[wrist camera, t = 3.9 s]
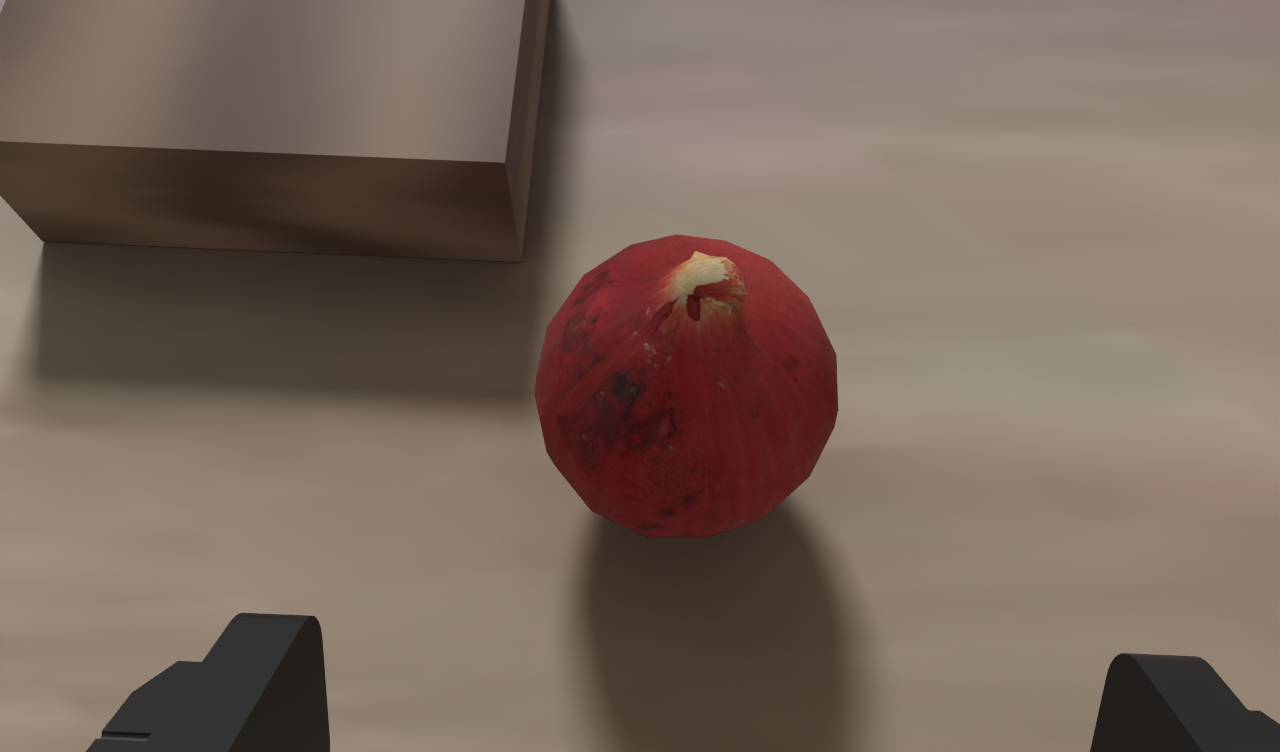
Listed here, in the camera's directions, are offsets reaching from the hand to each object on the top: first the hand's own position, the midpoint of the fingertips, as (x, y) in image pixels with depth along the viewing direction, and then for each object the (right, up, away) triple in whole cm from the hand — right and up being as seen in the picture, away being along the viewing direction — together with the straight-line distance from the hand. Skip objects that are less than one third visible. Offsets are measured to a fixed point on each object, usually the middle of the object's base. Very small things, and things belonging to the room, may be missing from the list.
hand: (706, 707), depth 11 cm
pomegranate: (0, +1, +13) cm, 13 cm away
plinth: (-9, +11, +18) cm, 23 cm away
